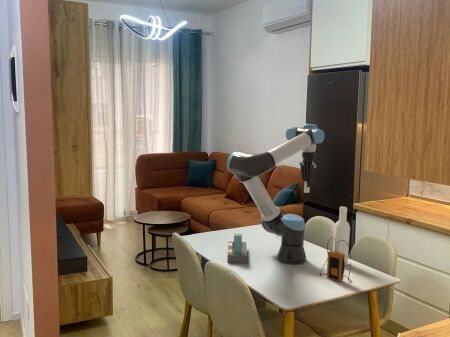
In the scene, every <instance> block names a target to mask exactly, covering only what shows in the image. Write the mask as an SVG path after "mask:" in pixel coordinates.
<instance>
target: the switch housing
mask: <svg viewBox="0 0 450 337" xmlns="http://www.w3.org/2000/svg"><path fill="white" fill-rule="evenodd" d="M227 244H228V245H227V259H226V260H227V263H228V264H248V247H247V242H246V241H242V247H241V250H242V255H237V254H233V250H234V240H233V241H232V240H231V241H228V243H227Z"/></svg>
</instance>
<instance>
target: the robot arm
mask: <svg viewBox="0 0 450 337" xmlns="http://www.w3.org/2000/svg"><path fill="white" fill-rule="evenodd" d="M325 136H326V135H325V132H324V130H322V129H320V128H318V126H317V124H314V123H304V124H303V127H298V126H297V127H296V126H293V127H288V128H287V129H286V131H285V138H286V139H287V141H286V142H284V143H282V144H280V145H278V146H276V147H274V148H273V149H270V150H268V151H267V150H265V151H263V152H260V153H259V152H258V153H249V152H243V151H241V150H239V151H234V152H232V153H230V155H229V156H228V158H227V161H226V168H227V171H228V172H229V173H231V174H233V175H234V176H235V177H236V179H237V180H238V182H239V183H242V184H243V185H244V186H245V189H246V190H247V192H248V193H249V195H250V196H251V198H252V200H253V201H254V204H255V205H256V207H257V209H258V211H259V212H260V214H261V215H260V224H261V227H262V228H263V230H264V231H266V232H268V233H270V234H273V235H276V236H278V237H280V238H281V243H280V247H279V249H278V252H277V258H276V259H277V261H279V262H281V263H284V264H290V265H301V264H304V263H306V262H307V255H306V250H305V247H304V243H305V229H306V228H305V227H306V225H305V219H304V218H303V217H302V216H300V215H297V214H294V213H286V214H284V213H283V212H282V210H281V208H280V207H279V206H278V205H277V206H276V204H275V203H274V202H273V199H272V197H271V196H270V194H269V193H268V191H267V189H266V187H265V185H264V184H263V182H262V180H261V178H260V177H259V176H262V175H263V174H266V173H268V172H271V170H273V169H275V168H276V165H278V164H280V163H281V162H283V161H285V160H287V159H289V158H290V157H292V156H294V155H295V154H298V153H300V152H301V151H302V152H301V158H302V161H300V162H299V166H300V176H301V180H303V187H304V188H303V193H304V194H305V193H307V194H308V193H310V191H311V190H310V189H311V182H313V181H314V178H315V174H316V170H317V167H318V164H315V159H316V156H317V154H316V150H317V144H322V143H323V141H324V139H325Z"/></svg>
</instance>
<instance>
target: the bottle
mask: <svg viewBox="0 0 450 337" xmlns="http://www.w3.org/2000/svg"><path fill="white" fill-rule="evenodd" d="M347 213H348V207H347V206H339V216H338V221H336V222H335V224H334V229H333V246H332V247H333V248H332V251H335V246H336V252H337V247H338V252H339V253H343V254H345V259H344V260H345V266H348V265H349V264H348V263H349V251H350V250H349V248H350V235H351V234H350V233H351V226H350V223H349V222H348V221H347V215H348V214H347ZM334 238H335V239H334ZM335 240H336V241H335ZM340 240H344V241H340ZM345 241H346V242H347V243H346V242H345ZM338 242H339V243H338ZM347 244H348V245H349V247H348V245H347Z"/></svg>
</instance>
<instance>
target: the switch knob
mask: <svg viewBox="0 0 450 337" xmlns="http://www.w3.org/2000/svg"><path fill="white" fill-rule="evenodd" d="M242 237H243V234H242V233H233V242H234V250H233V254H237V255H242V250H241V247H242V242H243V241H242V240H243V238H242Z"/></svg>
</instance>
